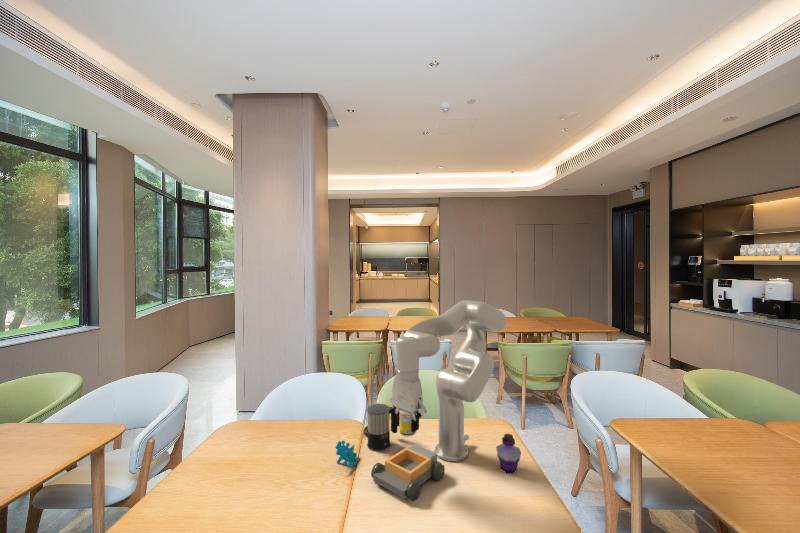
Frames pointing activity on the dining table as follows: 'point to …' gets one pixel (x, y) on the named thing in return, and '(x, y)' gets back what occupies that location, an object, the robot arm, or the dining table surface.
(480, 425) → the dining table surface
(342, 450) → the gear
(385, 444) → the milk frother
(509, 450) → the potion bottle
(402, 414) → the supplement bottle
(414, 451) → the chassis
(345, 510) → the dining table surface
